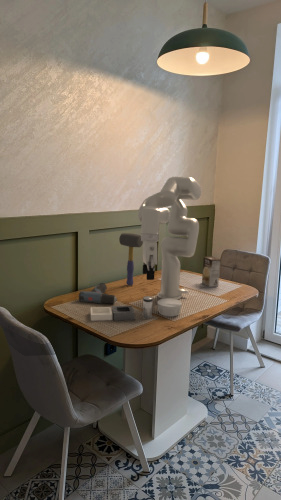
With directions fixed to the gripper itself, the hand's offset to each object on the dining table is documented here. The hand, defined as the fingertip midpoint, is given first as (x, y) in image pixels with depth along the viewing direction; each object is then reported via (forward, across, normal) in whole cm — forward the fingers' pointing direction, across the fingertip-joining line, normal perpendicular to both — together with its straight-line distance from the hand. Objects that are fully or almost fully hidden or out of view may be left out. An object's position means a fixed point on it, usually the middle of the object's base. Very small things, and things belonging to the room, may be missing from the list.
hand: (148, 276), depth 154 cm
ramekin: (+19, +4, -11) cm, 22 cm away
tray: (+18, +2, +20) cm, 27 cm away
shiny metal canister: (+18, 0, 0) cm, 18 cm away
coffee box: (+18, +49, -47) cm, 70 cm away
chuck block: (+18, +1, +10) cm, 21 cm away
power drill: (+19, +28, +18) cm, 38 cm away
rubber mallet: (+18, +48, +1) cm, 52 cm away
